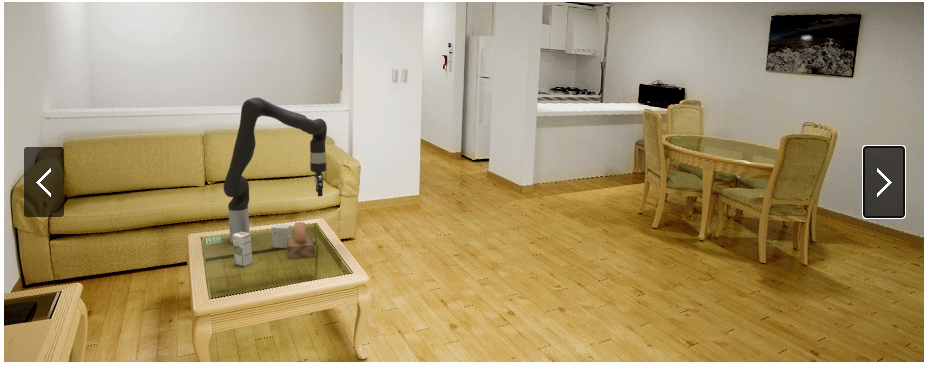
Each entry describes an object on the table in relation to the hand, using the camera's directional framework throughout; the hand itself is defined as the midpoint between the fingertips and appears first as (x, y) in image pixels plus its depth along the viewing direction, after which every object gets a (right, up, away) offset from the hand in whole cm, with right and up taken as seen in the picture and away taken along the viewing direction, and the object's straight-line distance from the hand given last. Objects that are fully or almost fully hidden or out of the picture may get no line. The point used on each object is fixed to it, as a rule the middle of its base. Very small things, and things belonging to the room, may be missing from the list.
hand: (319, 194), depth 296 cm
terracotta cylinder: (-9, -23, -1) cm, 25 cm away
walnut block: (-9, -29, 0) cm, 30 cm away
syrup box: (-31, -32, -15) cm, 47 cm away
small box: (-21, -26, +9) cm, 35 cm away
